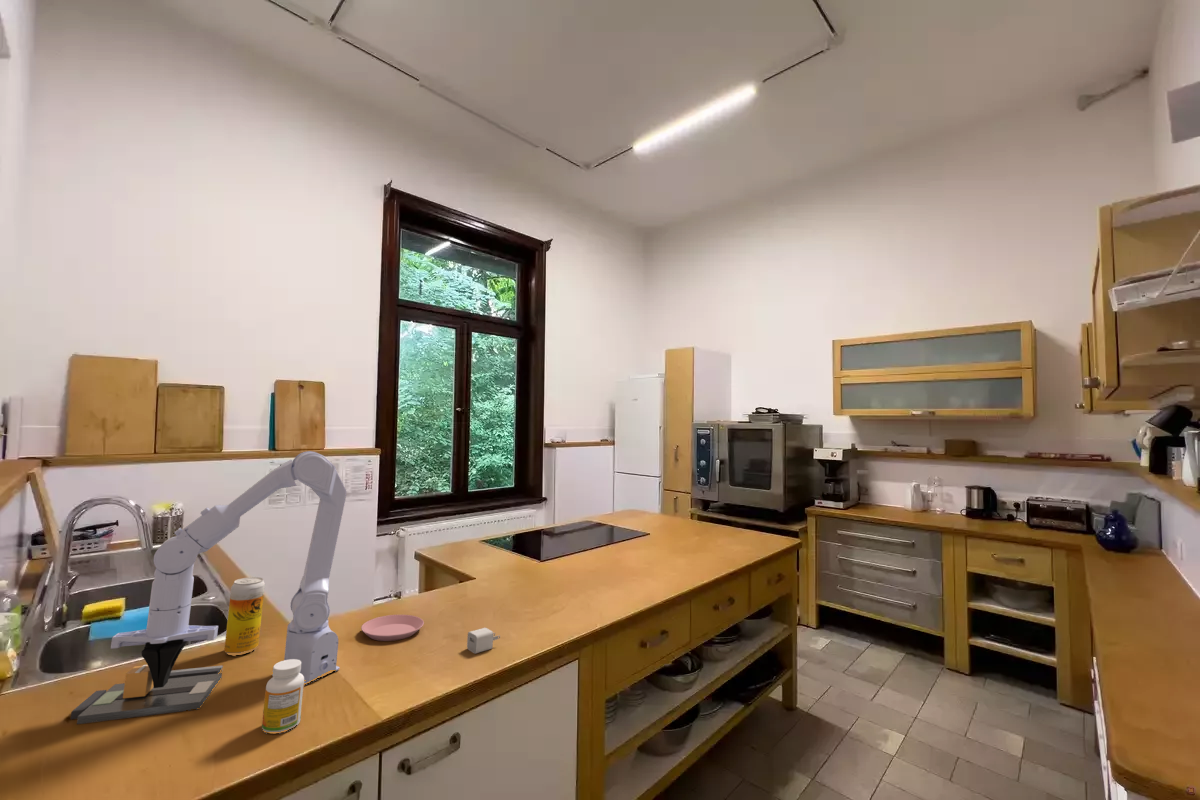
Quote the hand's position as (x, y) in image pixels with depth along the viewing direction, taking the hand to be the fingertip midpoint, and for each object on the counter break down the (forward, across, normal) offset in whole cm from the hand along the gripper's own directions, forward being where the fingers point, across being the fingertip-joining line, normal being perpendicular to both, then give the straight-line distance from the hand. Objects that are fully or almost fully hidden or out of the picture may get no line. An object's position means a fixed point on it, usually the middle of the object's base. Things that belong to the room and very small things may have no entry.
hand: (160, 685), depth 87 cm
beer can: (+3, +7, +19) cm, 21 cm away
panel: (+2, 0, 0) cm, 2 cm away
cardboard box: (+1, -3, 0) cm, 3 cm away
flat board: (+2, -2, +3) cm, 4 cm away
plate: (+3, +38, +23) cm, 44 cm away
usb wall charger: (+3, +58, +8) cm, 58 cm away
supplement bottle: (+3, +21, -15) cm, 26 cm away
